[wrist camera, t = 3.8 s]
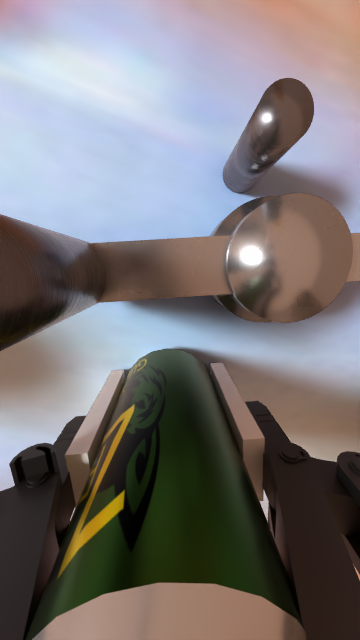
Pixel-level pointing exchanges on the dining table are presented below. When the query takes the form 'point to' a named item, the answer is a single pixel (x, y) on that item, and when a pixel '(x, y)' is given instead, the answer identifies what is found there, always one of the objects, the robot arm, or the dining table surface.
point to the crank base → (264, 155)
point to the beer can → (168, 526)
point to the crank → (181, 267)
